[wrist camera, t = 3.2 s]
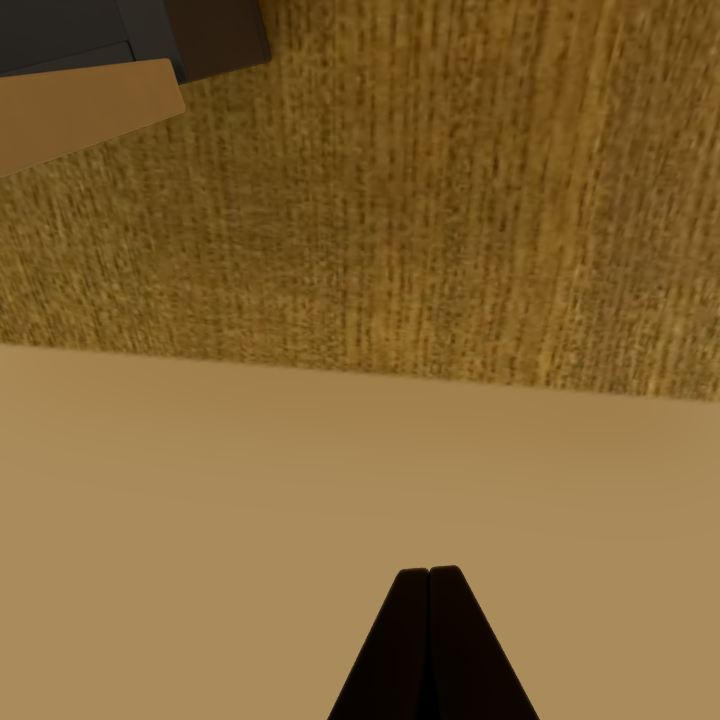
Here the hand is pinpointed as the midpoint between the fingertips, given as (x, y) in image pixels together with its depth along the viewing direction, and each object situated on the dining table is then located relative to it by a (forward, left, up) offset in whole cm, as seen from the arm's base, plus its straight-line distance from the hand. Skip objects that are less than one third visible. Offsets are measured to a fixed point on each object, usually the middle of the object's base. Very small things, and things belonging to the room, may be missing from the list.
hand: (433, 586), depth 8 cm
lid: (+7, +9, +3) cm, 12 cm away
